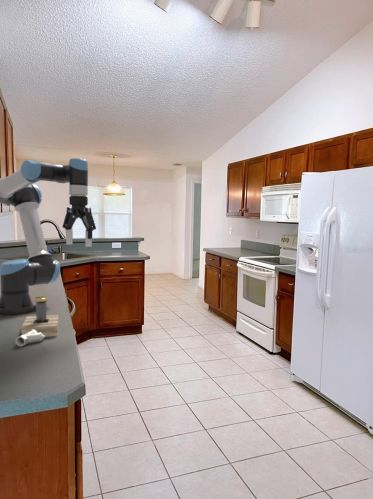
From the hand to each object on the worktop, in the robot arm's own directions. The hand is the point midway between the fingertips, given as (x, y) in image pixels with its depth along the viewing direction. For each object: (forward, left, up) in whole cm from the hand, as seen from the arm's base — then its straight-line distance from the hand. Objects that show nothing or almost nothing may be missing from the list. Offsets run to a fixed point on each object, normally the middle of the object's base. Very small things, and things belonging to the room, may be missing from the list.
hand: (78, 245), depth 150 cm
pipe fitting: (+28, -16, -32) cm, 46 cm away
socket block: (+16, -14, -32) cm, 38 cm away
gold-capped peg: (+16, -14, -32) cm, 38 cm away
